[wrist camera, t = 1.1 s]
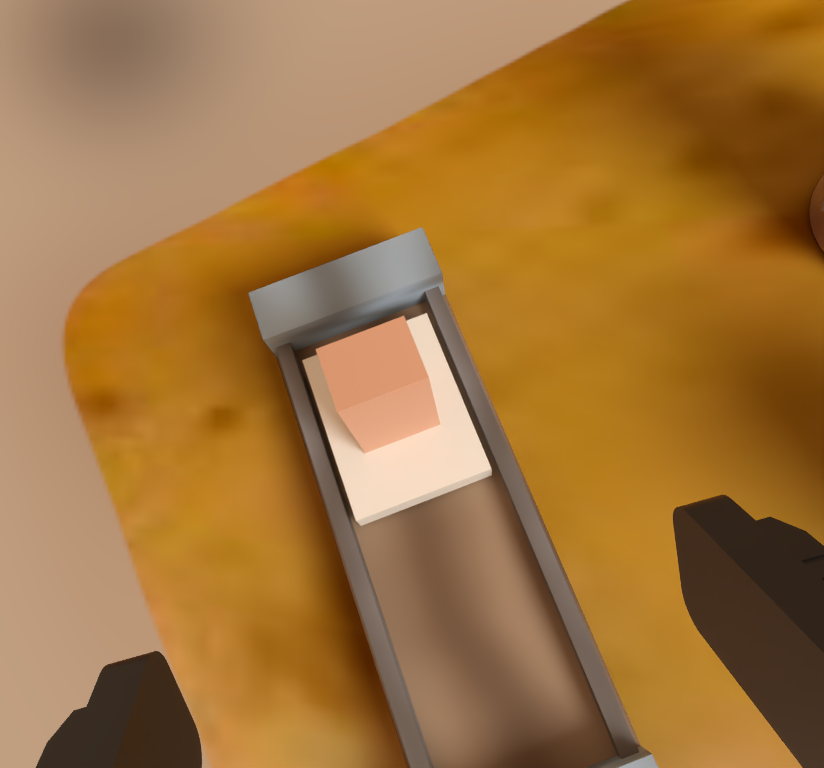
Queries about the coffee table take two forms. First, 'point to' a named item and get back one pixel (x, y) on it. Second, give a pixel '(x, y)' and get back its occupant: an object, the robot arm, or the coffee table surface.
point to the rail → (451, 554)
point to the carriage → (394, 418)
